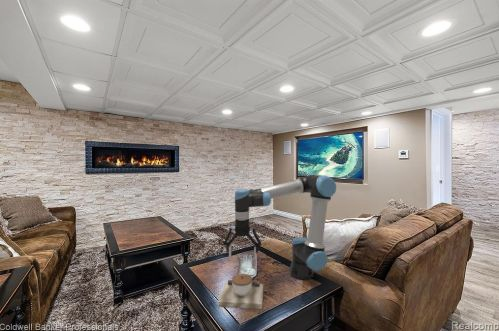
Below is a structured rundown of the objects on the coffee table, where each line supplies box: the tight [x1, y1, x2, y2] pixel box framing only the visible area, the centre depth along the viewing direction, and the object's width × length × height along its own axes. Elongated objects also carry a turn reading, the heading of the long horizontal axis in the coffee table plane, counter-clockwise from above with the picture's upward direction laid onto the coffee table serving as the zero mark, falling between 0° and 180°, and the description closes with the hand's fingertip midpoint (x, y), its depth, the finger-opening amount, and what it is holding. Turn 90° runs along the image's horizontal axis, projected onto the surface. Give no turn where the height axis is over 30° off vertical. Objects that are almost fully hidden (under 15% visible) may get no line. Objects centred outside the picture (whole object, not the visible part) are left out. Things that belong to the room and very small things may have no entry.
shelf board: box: [217, 279, 264, 310], centre depth 120 cm, size 22×18×4 cm
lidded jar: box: [231, 273, 253, 296], centre depth 120 cm, size 11×11×9 cm
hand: (242, 258), depth 120 cm, fingers open, 13 cm apart
